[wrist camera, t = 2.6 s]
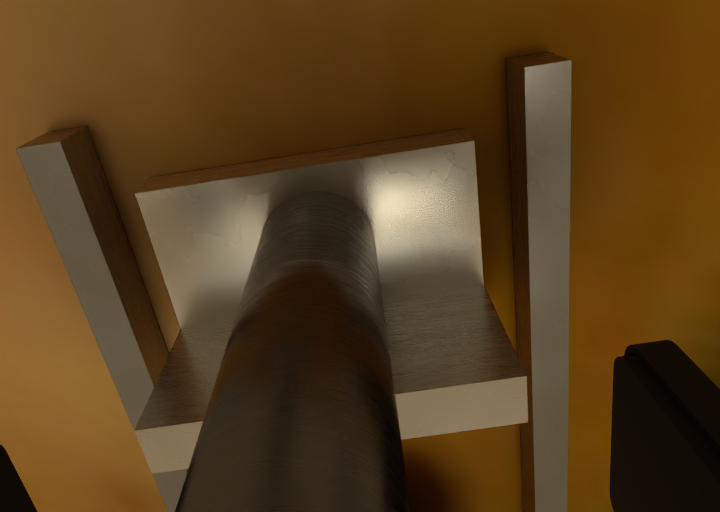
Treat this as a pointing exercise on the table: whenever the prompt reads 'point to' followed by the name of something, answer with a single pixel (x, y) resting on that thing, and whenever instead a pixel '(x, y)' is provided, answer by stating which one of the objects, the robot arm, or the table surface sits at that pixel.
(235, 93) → the table surface
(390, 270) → the carriage
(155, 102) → the table surface
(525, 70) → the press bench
